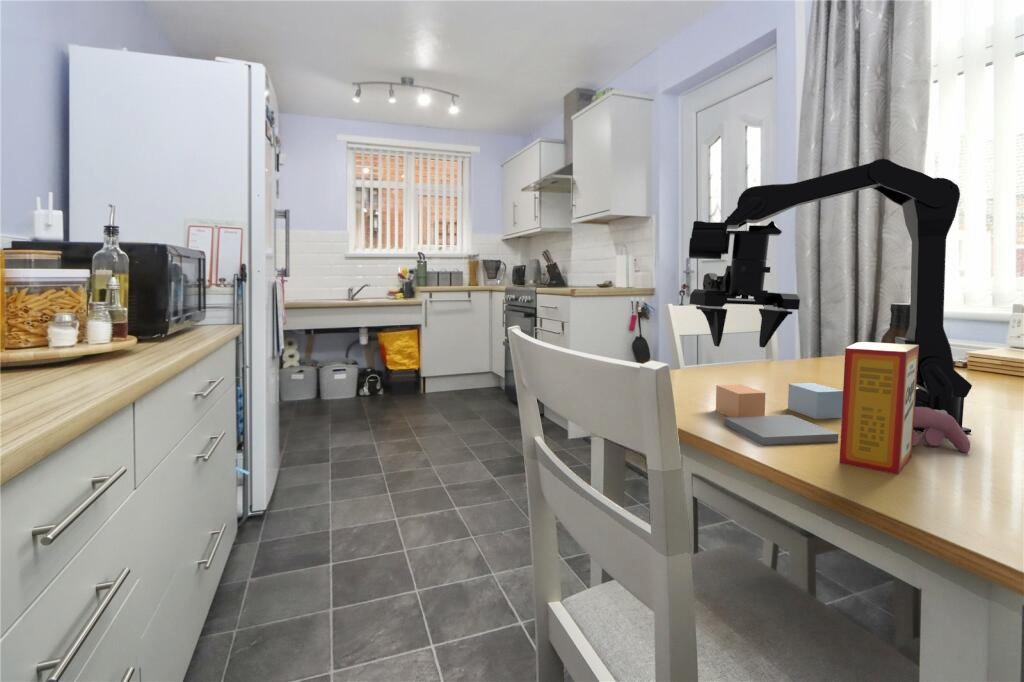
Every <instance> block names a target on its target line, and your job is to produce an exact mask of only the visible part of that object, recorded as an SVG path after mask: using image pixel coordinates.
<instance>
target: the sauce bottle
mask: <svg viewBox="0 0 1024 682" xmlns="http://www.w3.org/2000/svg"><path fill="white" fill-rule="evenodd" d="M889 311H890V323H889V328H888V329H887V330H886V332H885V333H884V334H883V335H882V337H881V341H880V343H893V344H895V337H902V338H905V336H906V333H907V331H908V329H909V325H910V302H909V303H907V302H906V303H904V302H903V303H902V302H901V303H900V302H897V303H896V302H894V303H891V304H890V310H889Z"/></svg>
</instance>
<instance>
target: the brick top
mask: <svg viewBox="0 0 1024 682" xmlns="http://www.w3.org/2000/svg"><path fill="white" fill-rule="evenodd" d="M787 392H788V394H787V395H788V397H787V410H790V411H793V412H796V413H799V414H802V415H805V416H806V417H809V418H813V419H815V420H822V419H824V420H826V419H840V418H841V419H842V404H843V390H840V389H838V388H833V387H829V386H827V385H823V384H819V383H814V382H804V383H803V382H801V383H788V391H787Z"/></svg>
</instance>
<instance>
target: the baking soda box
mask: <svg viewBox="0 0 1024 682" xmlns="http://www.w3.org/2000/svg"><path fill="white" fill-rule="evenodd" d="M918 352H919V345H911V344H893V343H881V342H874V341H873V342H872V341H861V342H860V341H859V342H857V341H856V342H855V343H853V344H850V345H849V346H847V347H845V349H844V364H843V365H844V366H843V368H844V369H843V385H842V386H843V387H842V391H843V404H842V418H841V423H840V424H841V425H840V426H841V428H840V446H839V447H840V448H839V464H844V465H849V466H853V467H854V466H855V467H859V468H863V469H864V468H865V469H868V470H874V471H879V472H885V473H889V474H890V473H891V474H894V475H900V473H901V472H902V471H903V469H904V468H905V466H906V465H907V464H908V462H909V461H910V460H911V458H912V457H913V455H912V453H913V445H912V443H913V430H914V412H915V397H916V389H917V387H916V382H917V367H918Z"/></svg>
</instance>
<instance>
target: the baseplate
mask: <svg viewBox="0 0 1024 682" xmlns="http://www.w3.org/2000/svg"><path fill="white" fill-rule="evenodd" d="M723 419H724V420H723V425H725V426H726V427H729V428H730V429H732V430H734V431H736V432H738V433H739V434H742V435H744V436H746V437H747V438H749V439H751V440H753V441H755V442H757V443H759V444H761V445H762V446H771V445H793V444H796V445H797V444H810V443H811V444H815V443H818V444H819V443H833V442H834V443H837V442H839V433H837V432H835V431H832V430H830V429H827V428H825V427H823V426H819V425H817V424H814V423H813V422H810V421H808V420H807V421H806V420H804V419H802V418H800V417H797V416H794V415H792V414H778V415H777V414H774V415H772V414H771V415H765V416H747V417H729V416H727V417H724V418H723Z"/></svg>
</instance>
